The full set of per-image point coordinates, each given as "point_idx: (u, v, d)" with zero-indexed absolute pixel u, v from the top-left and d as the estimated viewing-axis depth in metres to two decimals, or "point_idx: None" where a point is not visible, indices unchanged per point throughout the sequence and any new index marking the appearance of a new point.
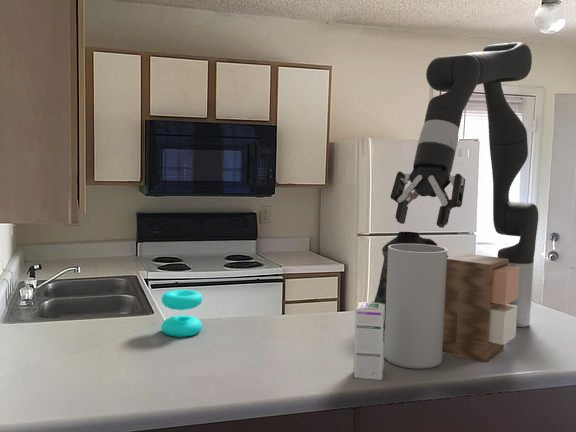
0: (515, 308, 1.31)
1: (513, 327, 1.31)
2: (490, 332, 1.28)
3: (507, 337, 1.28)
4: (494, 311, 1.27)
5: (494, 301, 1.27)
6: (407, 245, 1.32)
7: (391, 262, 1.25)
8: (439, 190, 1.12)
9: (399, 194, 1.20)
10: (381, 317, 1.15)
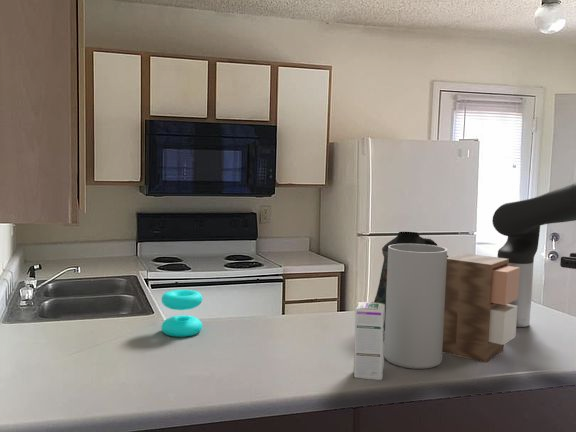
0: (515, 308, 1.31)
1: (513, 327, 1.31)
2: (490, 332, 1.28)
3: (507, 337, 1.28)
4: (494, 311, 1.27)
5: (494, 301, 1.27)
6: (407, 245, 1.32)
7: (391, 262, 1.25)
8: None
9: None
10: (381, 317, 1.15)
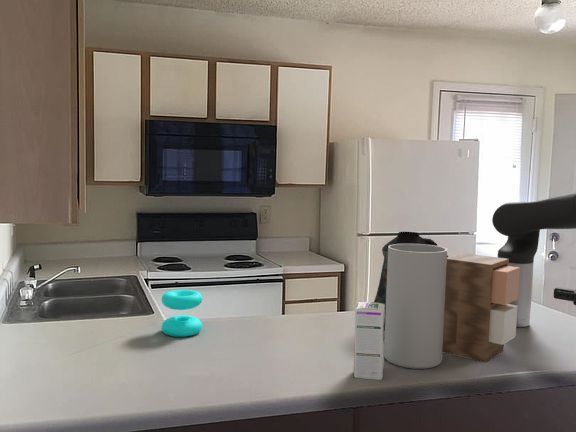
0: (515, 308, 1.31)
1: (513, 327, 1.31)
2: (490, 332, 1.28)
3: (507, 337, 1.28)
4: (494, 311, 1.27)
5: (494, 301, 1.27)
6: (407, 245, 1.32)
7: (391, 262, 1.25)
8: None
9: None
10: (381, 317, 1.15)
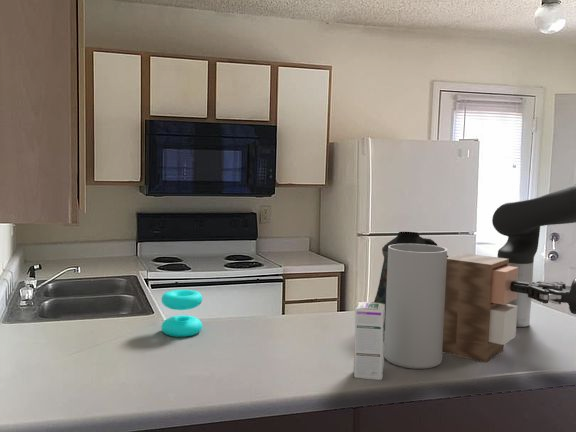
0: (515, 308, 1.31)
1: (513, 327, 1.31)
2: (490, 332, 1.28)
3: (507, 337, 1.28)
4: (494, 311, 1.27)
5: (493, 301, 1.27)
6: (407, 245, 1.32)
7: (391, 262, 1.25)
8: None
9: None
10: (381, 317, 1.15)
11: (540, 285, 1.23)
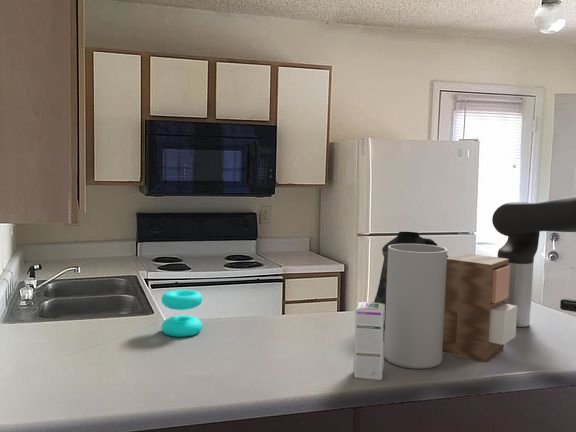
0: (515, 308, 1.31)
1: (513, 327, 1.31)
2: (490, 332, 1.28)
3: (507, 337, 1.28)
4: (494, 311, 1.27)
5: None
6: (407, 245, 1.32)
7: (391, 262, 1.25)
8: None
9: None
10: (381, 317, 1.15)
11: None
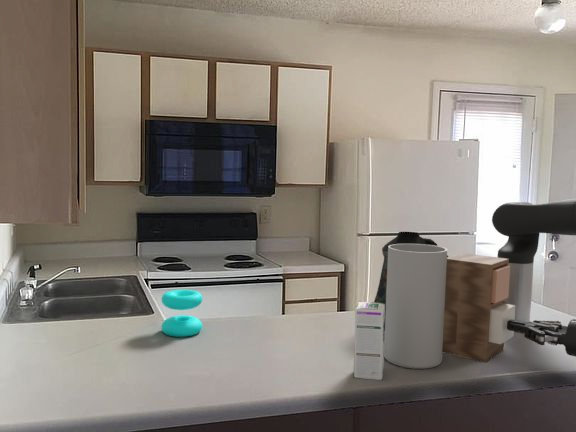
0: (513, 308, 1.31)
1: None
2: None
3: (505, 337, 1.29)
4: (492, 311, 1.28)
5: None
6: (407, 245, 1.32)
7: (391, 262, 1.25)
8: None
9: None
10: (381, 317, 1.15)
11: (537, 325, 1.24)
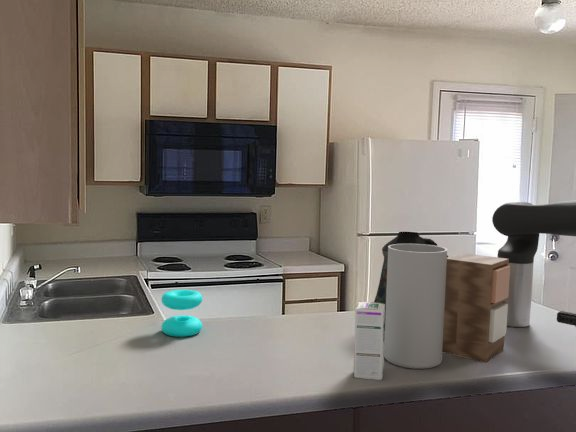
0: (505, 306, 1.32)
1: (503, 325, 1.32)
2: None
3: (497, 335, 1.30)
4: None
5: None
6: (407, 245, 1.32)
7: (391, 262, 1.25)
8: None
9: None
10: (381, 317, 1.15)
11: None
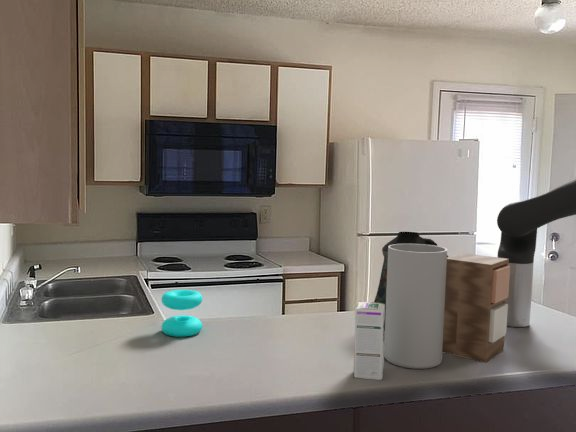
0: (505, 306, 1.32)
1: (503, 325, 1.32)
2: None
3: (497, 335, 1.30)
4: None
5: None
6: (407, 245, 1.32)
7: (391, 262, 1.25)
8: None
9: None
10: (381, 317, 1.15)
11: None
